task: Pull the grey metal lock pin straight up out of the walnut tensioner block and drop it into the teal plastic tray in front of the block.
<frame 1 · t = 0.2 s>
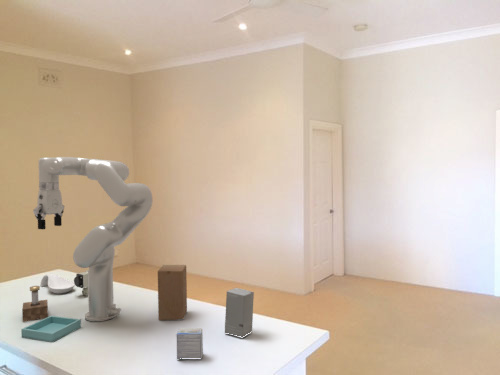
hand: (50, 227, 173), 36 cm above the counter, tool pointing down, fingers open, 9 cm apart
spoon rest: (55, 290, 204), on the counter
pneumatic valve: (87, 295, 196), on the counter
wooden block: (173, 316, 167), on the counter
skincare box: (239, 334, 149), on the counter
tray: (52, 332, 151), on the counter
medicine box: (190, 357, 131), on the counter
tensioner block: (35, 316, 168), on the counter
lock pin: (35, 301, 168), in the tensioner block
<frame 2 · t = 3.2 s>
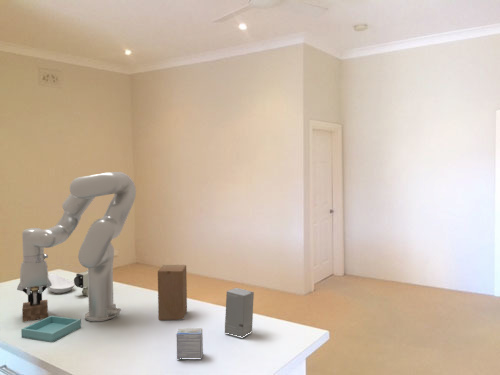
hand: (35, 302, 168), 6 cm above the counter, tool pointing down, fingers closed on lock pin, 2 cm apart
lock pin: (35, 301, 168), in the tensioner block, touching gripper
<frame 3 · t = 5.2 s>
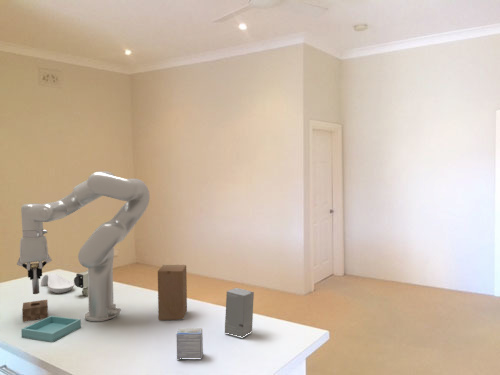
hand: (35, 278, 167), 16 cm above the counter, tool pointing down, fingers closed on lock pin, 2 cm apart
lock pin: (35, 278, 167), point 16 cm above the counter, touching gripper
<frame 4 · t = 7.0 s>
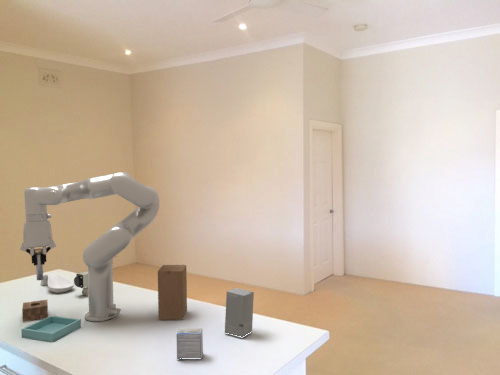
hand: (39, 264, 162), 23 cm above the counter, tool pointing down, fingers closed on lock pin, 2 cm apart
lock pin: (39, 264, 162), point 23 cm above the counter, touching gripper
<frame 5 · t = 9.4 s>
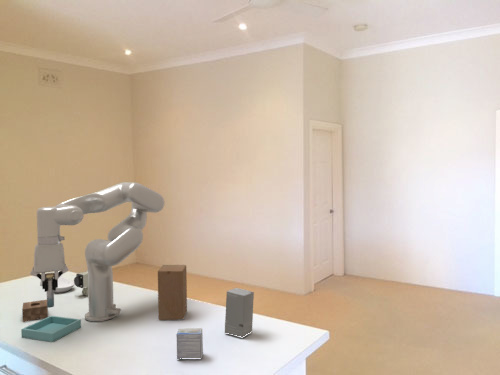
hand: (50, 289, 151), 16 cm above the counter, tool pointing down, fingers closed on lock pin, 2 cm apart
lock pin: (50, 290, 151), point 16 cm above the counter, touching gripper
when the fingers open (8 cm above the counter, at t = 11.0 s): lock pin drops 1 cm, resting on tray.
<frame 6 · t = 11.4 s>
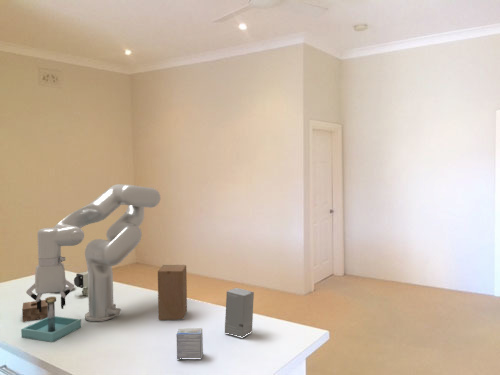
hand: (51, 309, 151), 9 cm above the counter, tool pointing down, fingers open, 6 cm apart
lock pin: (51, 314, 151), in the tray, point 7 cm above the counter
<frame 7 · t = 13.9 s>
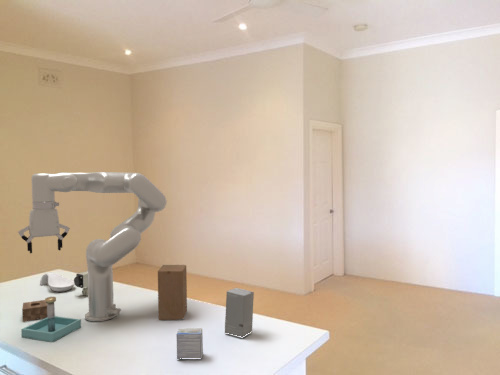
hand: (45, 251, 154), 29 cm above the counter, tool pointing down, fingers open, 9 cm apart
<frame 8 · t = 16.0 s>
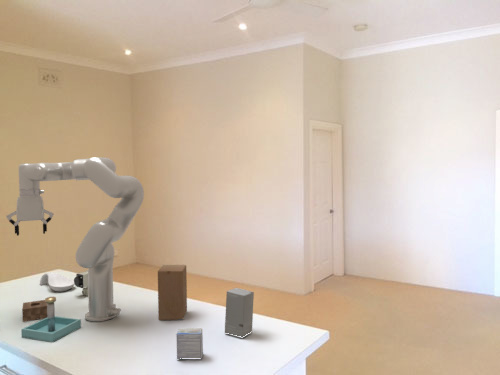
hand: (31, 234, 170), 33 cm above the counter, tool pointing down, fingers open, 9 cm apart
at the end: lock pin inside the target area on the tray (0.1 cm from its centre), point 6.7 cm above the tray's base; lock pin moved 21.9 cm from its start; the gripper is holding nothing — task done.
